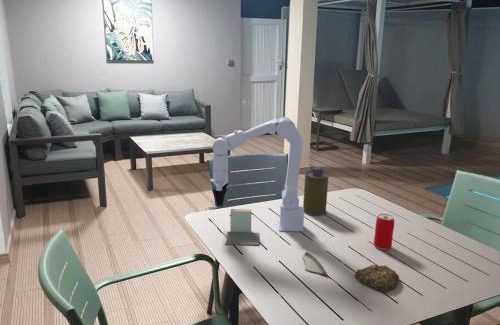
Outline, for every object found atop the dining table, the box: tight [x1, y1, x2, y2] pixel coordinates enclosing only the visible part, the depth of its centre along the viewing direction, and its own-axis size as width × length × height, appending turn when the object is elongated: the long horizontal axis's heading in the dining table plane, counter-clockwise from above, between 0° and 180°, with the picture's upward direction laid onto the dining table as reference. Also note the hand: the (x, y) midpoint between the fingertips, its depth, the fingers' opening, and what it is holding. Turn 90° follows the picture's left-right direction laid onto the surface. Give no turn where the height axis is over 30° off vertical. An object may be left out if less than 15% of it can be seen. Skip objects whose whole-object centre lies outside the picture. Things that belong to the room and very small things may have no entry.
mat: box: [225, 231, 260, 246], centre depth 150 cm, size 12×10×1 cm
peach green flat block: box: [229, 208, 253, 232], centre depth 155 cm, size 8×2×9 cm, turn 89°
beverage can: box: [373, 213, 395, 251], centre depth 144 cm, size 6×6×12 cm
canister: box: [302, 166, 330, 217], centre depth 175 cm, size 11×10×20 cm
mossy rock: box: [354, 264, 400, 293], centre depth 124 cm, size 13×12×5 cm
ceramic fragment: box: [301, 251, 329, 277], centre depth 131 cm, size 14×5×4 cm, turn 21°
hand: (220, 202), depth 158 cm, fingers open, 7 cm apart
